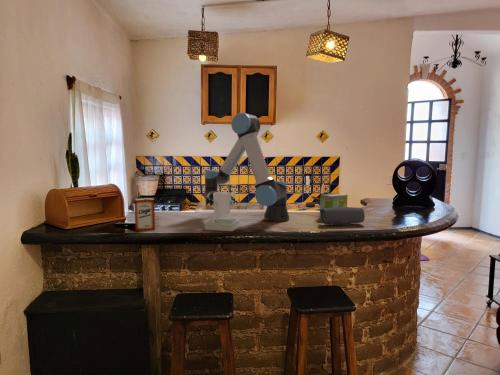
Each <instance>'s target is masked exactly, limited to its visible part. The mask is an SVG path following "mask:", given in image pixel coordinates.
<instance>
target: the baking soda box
mask: <svg viewBox="0 0 500 375" xmlns="http://www.w3.org/2000/svg"><path fill="white" fill-rule="evenodd" d="M155 219H156V218H155V198H152V197H149V198H147V197H144V198H134V220H135V221H134V223H135V224H134V225H135V229H134V230H135V232H139V231H154V230H156V227H155V226H156V225H155Z"/></svg>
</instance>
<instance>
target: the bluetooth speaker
mask: <svg viewBox="0 0 500 375" xmlns="http://www.w3.org/2000/svg"><path fill="white" fill-rule="evenodd" d="M319 215H320V218H319V219H320V221H321V224H325V225H332V226H334V225H343V226H352V224H360V223H363V222H364V221H365V211H364V209H363V208H362V207H355V206H354V207H352V206H351V207H350V206H347V207H338V208H324V209H322V210H321V214H320V213H319Z"/></svg>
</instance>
